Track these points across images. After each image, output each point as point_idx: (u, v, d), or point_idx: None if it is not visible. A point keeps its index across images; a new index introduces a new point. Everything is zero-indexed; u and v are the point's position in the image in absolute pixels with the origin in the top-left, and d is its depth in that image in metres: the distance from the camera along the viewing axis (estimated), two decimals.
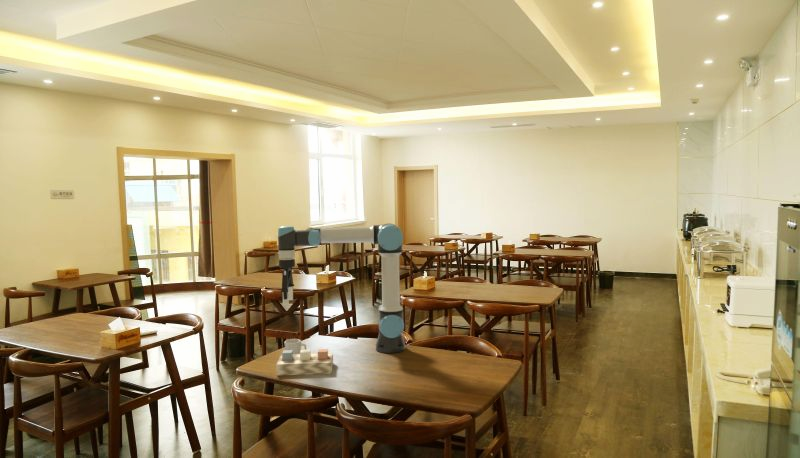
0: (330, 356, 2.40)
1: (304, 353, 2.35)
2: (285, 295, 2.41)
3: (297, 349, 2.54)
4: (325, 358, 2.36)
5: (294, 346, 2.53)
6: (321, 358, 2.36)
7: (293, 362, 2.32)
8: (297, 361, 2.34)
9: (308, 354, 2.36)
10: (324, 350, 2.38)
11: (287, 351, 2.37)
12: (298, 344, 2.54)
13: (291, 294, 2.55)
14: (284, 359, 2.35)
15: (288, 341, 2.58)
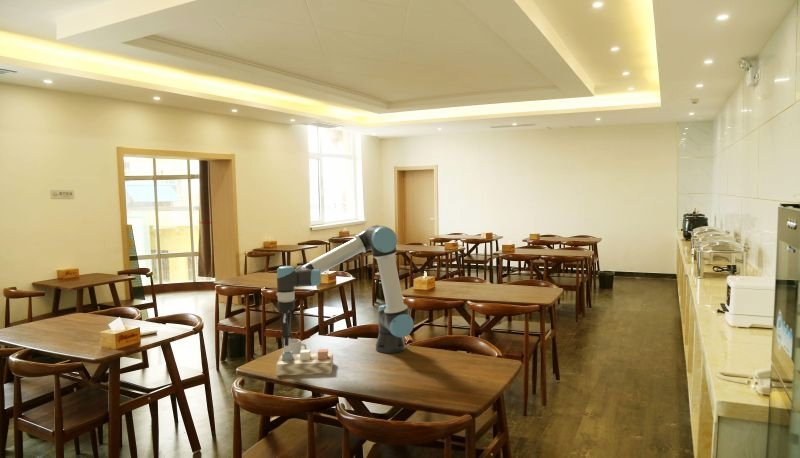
0: (330, 356, 2.40)
1: (304, 353, 2.35)
2: (286, 341, 2.35)
3: (297, 349, 2.54)
4: (325, 358, 2.36)
5: (294, 346, 2.53)
6: (321, 358, 2.36)
7: (293, 362, 2.32)
8: (297, 361, 2.34)
9: (308, 354, 2.36)
10: (324, 350, 2.38)
11: (287, 352, 2.37)
12: (298, 344, 2.54)
13: None
14: (284, 360, 2.35)
15: None
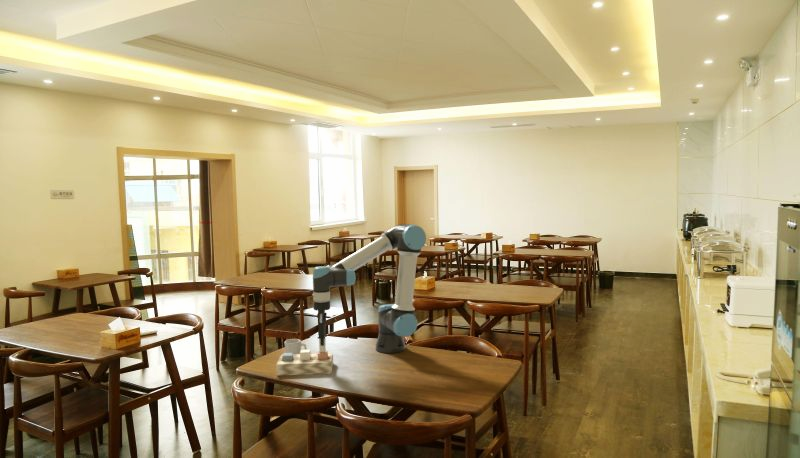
0: (330, 356, 2.40)
1: (304, 353, 2.35)
2: (322, 341, 2.36)
3: (297, 349, 2.54)
4: None
5: (294, 346, 2.53)
6: None
7: (293, 362, 2.32)
8: (297, 361, 2.34)
9: (308, 354, 2.36)
10: (324, 352, 2.38)
11: (287, 354, 2.37)
12: (298, 344, 2.54)
13: None
14: None
15: (288, 341, 2.58)
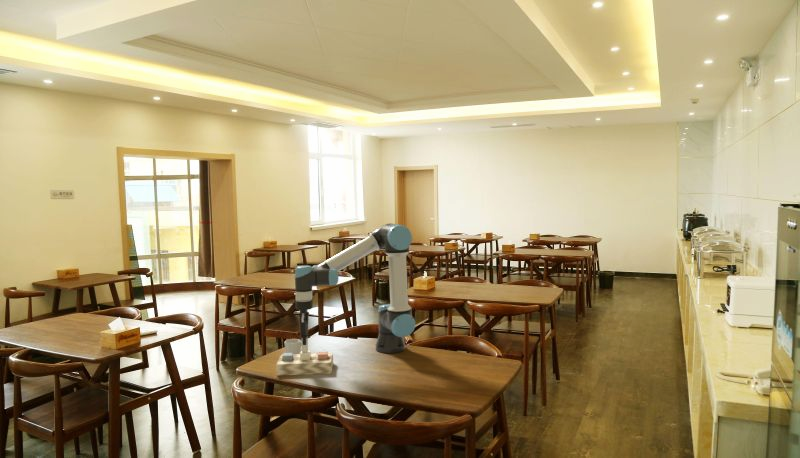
0: (330, 356, 2.40)
1: (304, 354, 2.35)
2: (304, 341, 2.35)
3: (297, 349, 2.54)
4: None
5: (294, 346, 2.53)
6: None
7: (293, 362, 2.32)
8: (297, 361, 2.34)
9: (308, 355, 2.36)
10: (324, 353, 2.38)
11: (287, 354, 2.37)
12: (298, 344, 2.54)
13: None
14: None
15: (288, 341, 2.58)
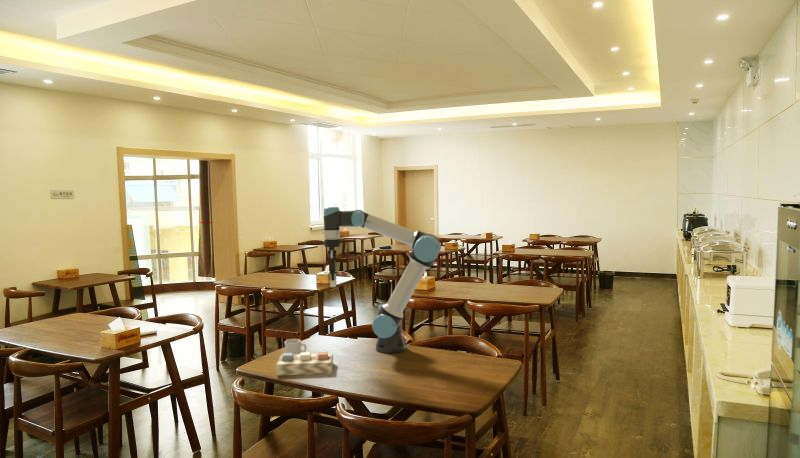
0: (330, 356, 2.40)
1: (304, 356, 2.35)
2: (332, 276, 2.53)
3: (297, 349, 2.54)
4: None
5: (294, 346, 2.53)
6: None
7: (293, 362, 2.32)
8: (297, 361, 2.34)
9: (308, 357, 2.36)
10: (324, 353, 2.38)
11: (287, 354, 2.37)
12: (298, 344, 2.54)
13: None
14: None
15: (288, 341, 2.58)
